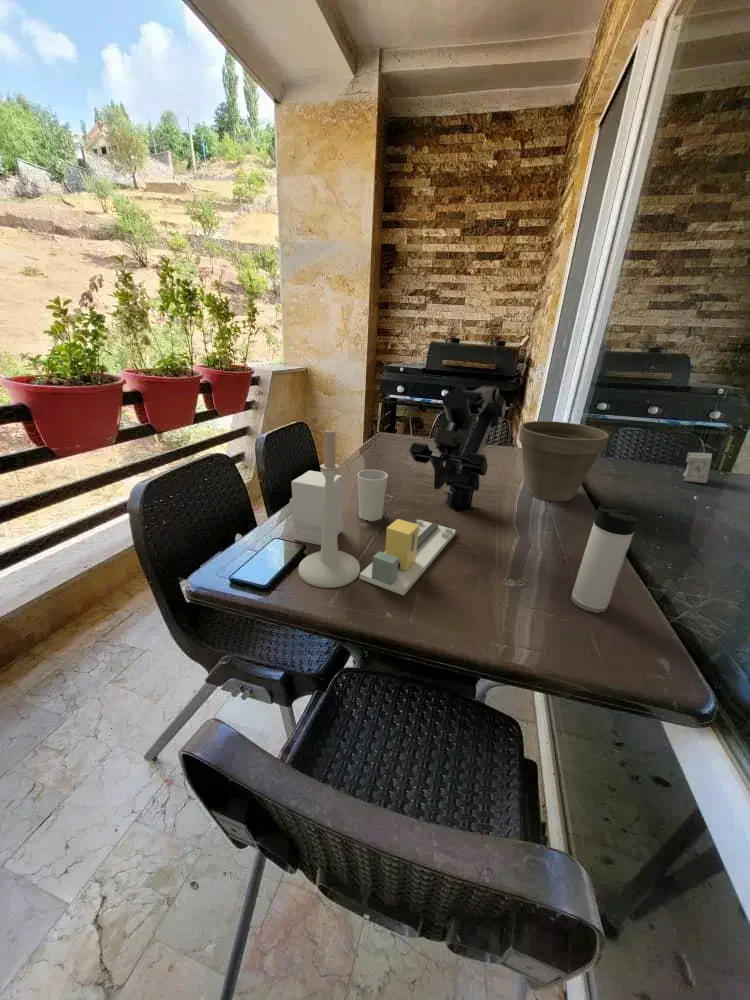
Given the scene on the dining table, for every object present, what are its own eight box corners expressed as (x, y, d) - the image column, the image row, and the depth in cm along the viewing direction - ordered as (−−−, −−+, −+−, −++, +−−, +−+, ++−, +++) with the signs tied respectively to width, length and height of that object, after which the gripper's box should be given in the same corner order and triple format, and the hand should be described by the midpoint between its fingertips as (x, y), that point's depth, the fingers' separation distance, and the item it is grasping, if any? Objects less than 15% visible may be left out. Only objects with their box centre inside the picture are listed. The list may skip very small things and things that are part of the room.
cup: (382, 524, 102) (384, 481, 97) (352, 520, 103) (354, 477, 98) (387, 511, 109) (390, 471, 104) (359, 508, 110) (361, 468, 106)
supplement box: (342, 531, 97) (343, 474, 91) (327, 547, 90) (327, 487, 84) (310, 524, 100) (309, 469, 94) (292, 539, 92) (290, 480, 86)
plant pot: (505, 499, 122) (518, 431, 113) (511, 475, 143) (522, 416, 134) (593, 515, 114) (615, 443, 105) (585, 488, 135) (603, 426, 126)
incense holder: (679, 474, 155) (689, 449, 151) (705, 479, 150) (716, 454, 146) (677, 480, 148) (687, 454, 143) (705, 486, 143) (716, 459, 139)
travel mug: (562, 593, 78) (589, 502, 70) (593, 592, 78) (623, 502, 70) (580, 614, 72) (611, 517, 64) (613, 613, 73) (648, 517, 65)
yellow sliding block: (394, 553, 86) (397, 518, 83) (415, 560, 84) (419, 525, 80) (383, 563, 82) (386, 527, 78) (405, 571, 80) (409, 534, 76)
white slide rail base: (419, 523, 103) (421, 502, 101) (455, 534, 99) (458, 512, 96) (359, 578, 79) (360, 552, 76) (403, 595, 75) (406, 568, 72)
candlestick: (335, 595, 74) (336, 441, 62) (285, 573, 80) (277, 428, 68) (371, 565, 84) (378, 428, 72) (324, 547, 90) (324, 417, 78)
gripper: (415, 409, 94) (391, 464, 89) (492, 420, 86) (470, 482, 81) (425, 434, 103) (404, 485, 99) (495, 447, 95) (475, 503, 91)
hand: (435, 488), depth 92 cm, fingers closed
